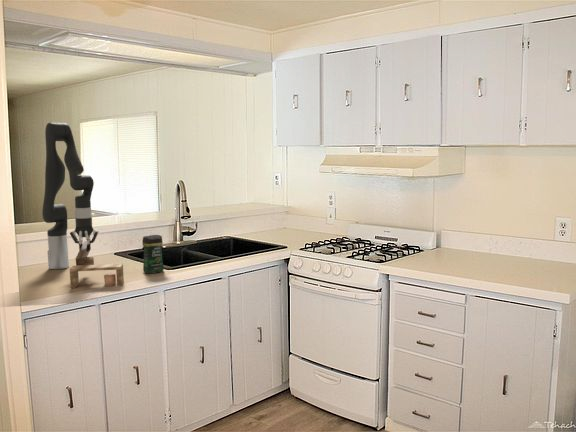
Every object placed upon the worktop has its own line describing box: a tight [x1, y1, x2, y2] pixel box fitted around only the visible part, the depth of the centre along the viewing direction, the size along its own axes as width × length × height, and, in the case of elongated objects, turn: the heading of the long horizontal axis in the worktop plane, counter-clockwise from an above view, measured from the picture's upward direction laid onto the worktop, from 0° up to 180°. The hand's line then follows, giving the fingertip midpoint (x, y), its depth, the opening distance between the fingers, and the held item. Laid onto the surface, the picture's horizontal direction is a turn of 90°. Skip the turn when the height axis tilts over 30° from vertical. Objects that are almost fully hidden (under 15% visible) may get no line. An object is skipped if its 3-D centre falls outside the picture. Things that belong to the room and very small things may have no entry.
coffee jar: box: [141, 234, 164, 274], centre depth 273 cm, size 10×8×19 cm
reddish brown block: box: [103, 273, 117, 287], centre depth 250 cm, size 5×5×4 cm
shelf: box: [69, 263, 125, 289], centre depth 249 cm, size 22×7×9 cm, turn 99°
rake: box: [75, 240, 95, 266], centre depth 264 cm, size 8×20×5 cm, turn 8°
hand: (85, 251), depth 268 cm, fingers closed on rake, 2 cm apart
